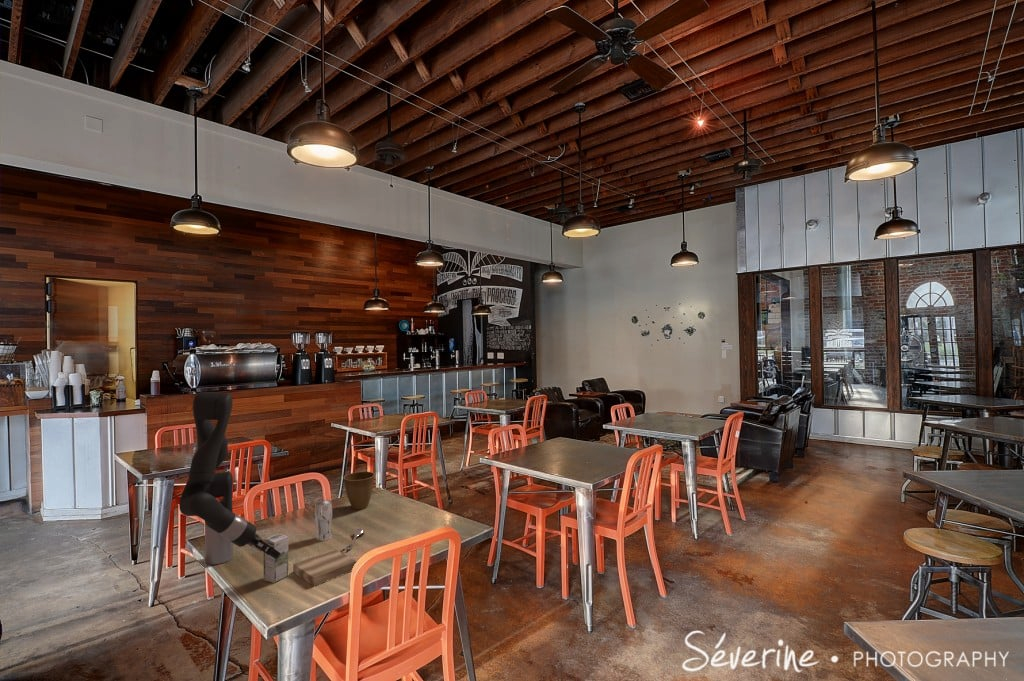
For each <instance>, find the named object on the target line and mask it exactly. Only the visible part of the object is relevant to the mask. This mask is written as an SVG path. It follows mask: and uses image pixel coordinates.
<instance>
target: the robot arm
mask: <svg viewBox="0 0 1024 681" xmlns="http://www.w3.org/2000/svg"><path fill="white" fill-rule="evenodd" d="M232 409H233V397H232V394H230V393H229V392H215V391H200V392H198V393H196V395H195V396H194V398H193V401H192V414H193V420H194V425H195V429H196V443H197V444H196V445H197V448H196V449H197V450H196V451H195V453H194V454H193V456H192V459H191V463H190V467H189V474H188V479H187V482H186V483H185V485H184V488H183V490H182V493H181V495H180V499H179V505H178V507H179V511H180V513H181V515H183V516H186V517H198V518H199V519H201V520H203V521H204V558H205V559H204V561H205V564H206V565H211V566H212V565H213V566H214V565H219V564H220V565H221V564H224V563H226V562H228V561H231V560H232V559H233V558H234V545H236V547H237V546H238V547H239V548H242V547H245V546H246V545H248V546H249V547H250V548H252V549H255V550H257V551H258V552H260V553H262V552H263V553H264V552H265V553H266V554H267V555H270V556H272V557H274V558H275V559H277V558H278V557H279V555H280V552H278V551H277V550H275V549H274V547H272V546H270V545H268V542H266V541H265V540H264V539H263V537H262V536H260V535H259V534H258V533H256V532H257V526H256V525H255V524H253V523H252V522H250V521H248V520H247V519H245V518H244V517H242V516H241V515H239V514H236V513H235V512H234V511H233V492H234V491H233V490H234V488H233V487H234V476H233V474H232V473H231V471H222V472H216V470H217V468H218V467H219V466H220V465H221V464H222V463H223V462H224V461H225V460H226V458H227V456H228V452H229V449H228V448H229V446H228V443H229V442H228V438H227V436H226V435H225V434H226V433H227V432H226V431H227V428H228V425H229V421H230V417H231V413H232ZM212 421H217V422H216V425H215V424H214V423H213V422H212ZM217 498H222V499H221V500H218V499H217ZM267 547H270V548H269V549H268V550H267V552H266V551H265V550H266V548H267Z"/></svg>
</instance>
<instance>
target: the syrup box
mask: <svg viewBox="0 0 1024 681" xmlns="http://www.w3.org/2000/svg"><path fill="white" fill-rule="evenodd" d="M263 540H265V541H266V542H268V545H270V546H272V547H274V549H275V550H277V551H278V552H280V555H279V557H278V558H277V559H275V558H274V557H272V556H270V555H267V554H266V553H265V552H263V580H264V581H266V582H269V583H273V584H276V583H277V582H280V581H281V580H283V579H285V578H287V577H288V576H289V537H288V536H287V535H285V534H281V533H276V534H274V535H271V536H270V537H269V536H268V537H267V538H264V539H263ZM269 548H270V547H267V548H266V550H265V551H266V552H267V550H268V549H269Z"/></svg>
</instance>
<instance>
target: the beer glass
mask: <svg viewBox="0 0 1024 681" xmlns="http://www.w3.org/2000/svg"><path fill="white" fill-rule="evenodd" d="M332 502H333V501H331V500H326V499H325V500H319V501H317V502H315V504H314V520H315V524H316V538H315V540H317V541H318V542H326V541H327V540H330V539H332V536H333V535H332V532H331V526H332V520H333V504H332Z"/></svg>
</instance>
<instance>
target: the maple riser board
mask: <svg viewBox="0 0 1024 681" xmlns="http://www.w3.org/2000/svg"><path fill="white" fill-rule="evenodd" d="M356 562H358V561H357V560H356V559H353V558H352V557H350V556H348V555H346V554H345V553H343V552H341V551H339V550H337V549H335V548H334V549H329V550H328V551H325V552H322V553H319V554H317V555H313V556H311V557H307V558H305V559H302V560H300V561H297V562H294V563H292V570H293V571H292V572H293V573H294V574H295V575H297V576H298V577H300V578H301V579H303V580H304V581H305V582H307V583H309V584H310V585H312V586H313V587H314V586H315V587H316V585H317V586H319V585H318V584H320V585H321V583H322V584H324V583H326V582H325V581H327V580H329V581H331V580H330V579H332V578H334V579H336V578H335V577H337V576H339V577H341V576H340V575H342V574H344V575H346V574H345V573H347V574H349V573H352V572H351V570H352V568H353V566H354V564H355V563H356ZM342 576H343V575H342ZM337 578H338V577H337ZM332 580H333V579H332ZM323 582H324V583H323ZM327 582H328V581H327Z"/></svg>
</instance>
